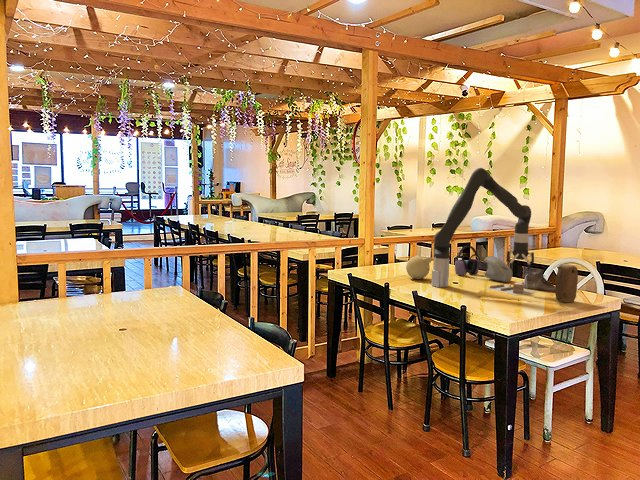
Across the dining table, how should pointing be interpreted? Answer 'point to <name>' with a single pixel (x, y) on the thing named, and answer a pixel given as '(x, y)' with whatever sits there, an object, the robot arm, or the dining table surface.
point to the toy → (418, 267)
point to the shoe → (538, 282)
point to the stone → (566, 283)
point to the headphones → (467, 264)
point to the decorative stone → (497, 269)
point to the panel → (507, 289)
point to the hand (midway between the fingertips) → (519, 270)
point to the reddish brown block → (518, 287)
